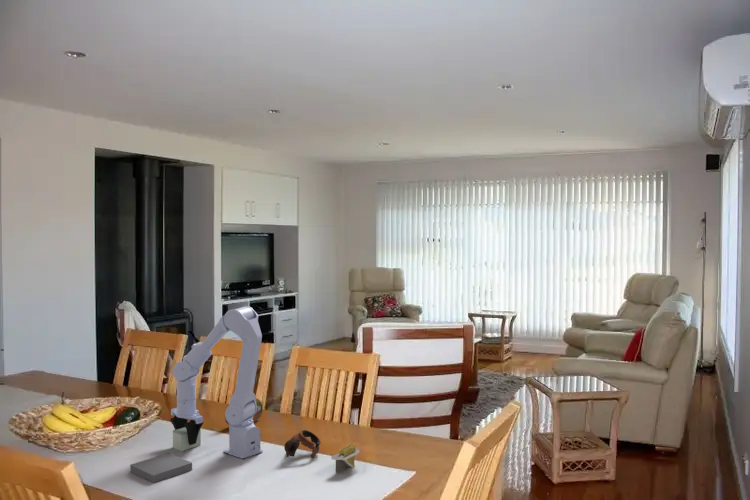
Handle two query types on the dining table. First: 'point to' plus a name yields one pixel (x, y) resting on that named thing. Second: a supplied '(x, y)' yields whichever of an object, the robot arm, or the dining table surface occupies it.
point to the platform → (345, 457)
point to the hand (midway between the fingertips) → (186, 441)
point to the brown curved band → (294, 443)
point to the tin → (258, 412)
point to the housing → (184, 439)
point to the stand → (160, 467)
